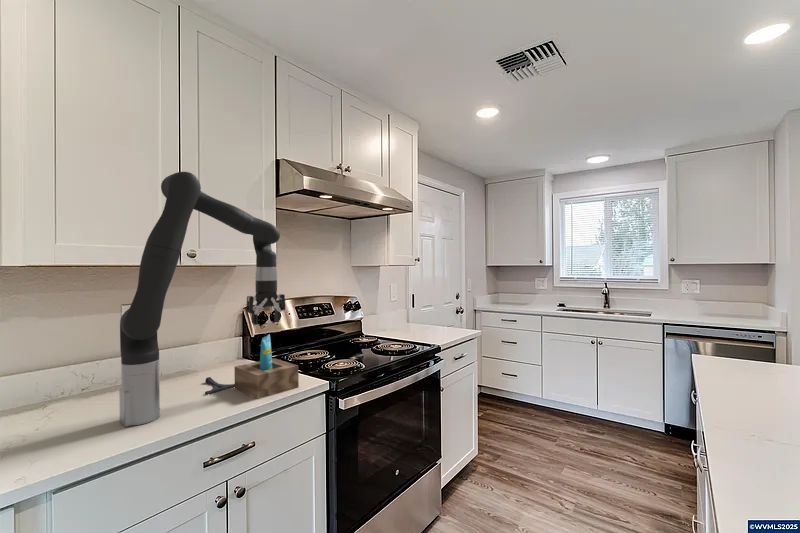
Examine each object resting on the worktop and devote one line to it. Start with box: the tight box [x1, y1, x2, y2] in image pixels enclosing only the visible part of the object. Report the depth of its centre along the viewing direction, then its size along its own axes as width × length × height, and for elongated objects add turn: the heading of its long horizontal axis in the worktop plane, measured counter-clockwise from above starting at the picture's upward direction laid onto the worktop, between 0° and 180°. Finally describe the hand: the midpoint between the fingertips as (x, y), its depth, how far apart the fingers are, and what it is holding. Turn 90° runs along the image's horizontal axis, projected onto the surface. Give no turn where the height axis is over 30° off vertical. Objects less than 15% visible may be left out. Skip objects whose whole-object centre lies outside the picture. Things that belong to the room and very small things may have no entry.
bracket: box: [204, 376, 235, 396], centre depth 142 cm, size 14×15×3 cm
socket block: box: [234, 357, 300, 400], centre depth 139 cm, size 16×17×8 cm
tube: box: [259, 333, 273, 371], centre depth 139 cm, size 7×5×19 cm, turn 5°
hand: (266, 323), depth 139 cm, fingers open, 8 cm apart
